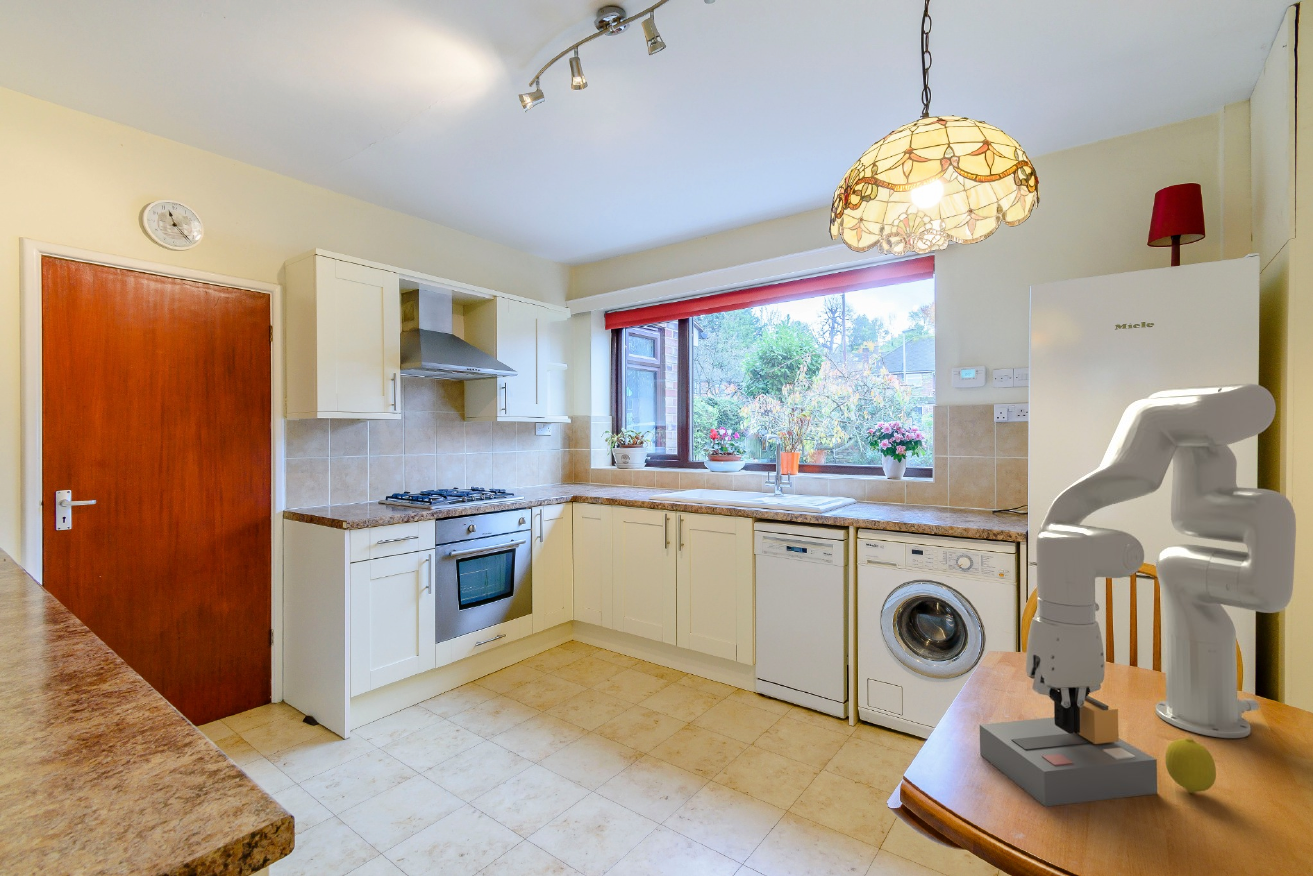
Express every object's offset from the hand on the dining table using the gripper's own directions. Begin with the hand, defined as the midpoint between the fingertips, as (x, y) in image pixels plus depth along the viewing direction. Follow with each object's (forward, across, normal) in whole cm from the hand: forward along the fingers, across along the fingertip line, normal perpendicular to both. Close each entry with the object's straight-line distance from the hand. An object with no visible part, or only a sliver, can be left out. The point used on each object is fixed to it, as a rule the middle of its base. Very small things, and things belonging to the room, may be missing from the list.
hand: (1067, 728), depth 94 cm
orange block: (+1, -5, 0) cm, 5 cm away
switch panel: (+7, +1, 0) cm, 7 cm away
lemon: (+7, -13, +7) cm, 17 cm away
